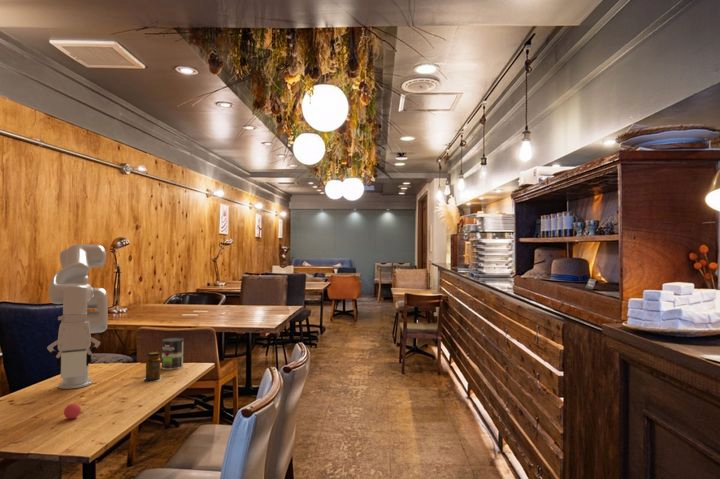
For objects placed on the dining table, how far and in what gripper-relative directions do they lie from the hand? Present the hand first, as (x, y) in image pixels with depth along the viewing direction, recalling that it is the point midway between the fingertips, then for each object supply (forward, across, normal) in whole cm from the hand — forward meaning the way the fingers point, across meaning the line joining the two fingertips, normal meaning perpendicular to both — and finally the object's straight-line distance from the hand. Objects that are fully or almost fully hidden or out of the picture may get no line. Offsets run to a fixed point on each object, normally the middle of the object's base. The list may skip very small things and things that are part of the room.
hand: (74, 366), depth 164 cm
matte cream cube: (+3, 0, 0) cm, 3 cm away
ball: (+14, 0, -8) cm, 16 cm away
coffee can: (+16, +41, +49) cm, 66 cm away
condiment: (+16, +30, +30) cm, 46 cm away
